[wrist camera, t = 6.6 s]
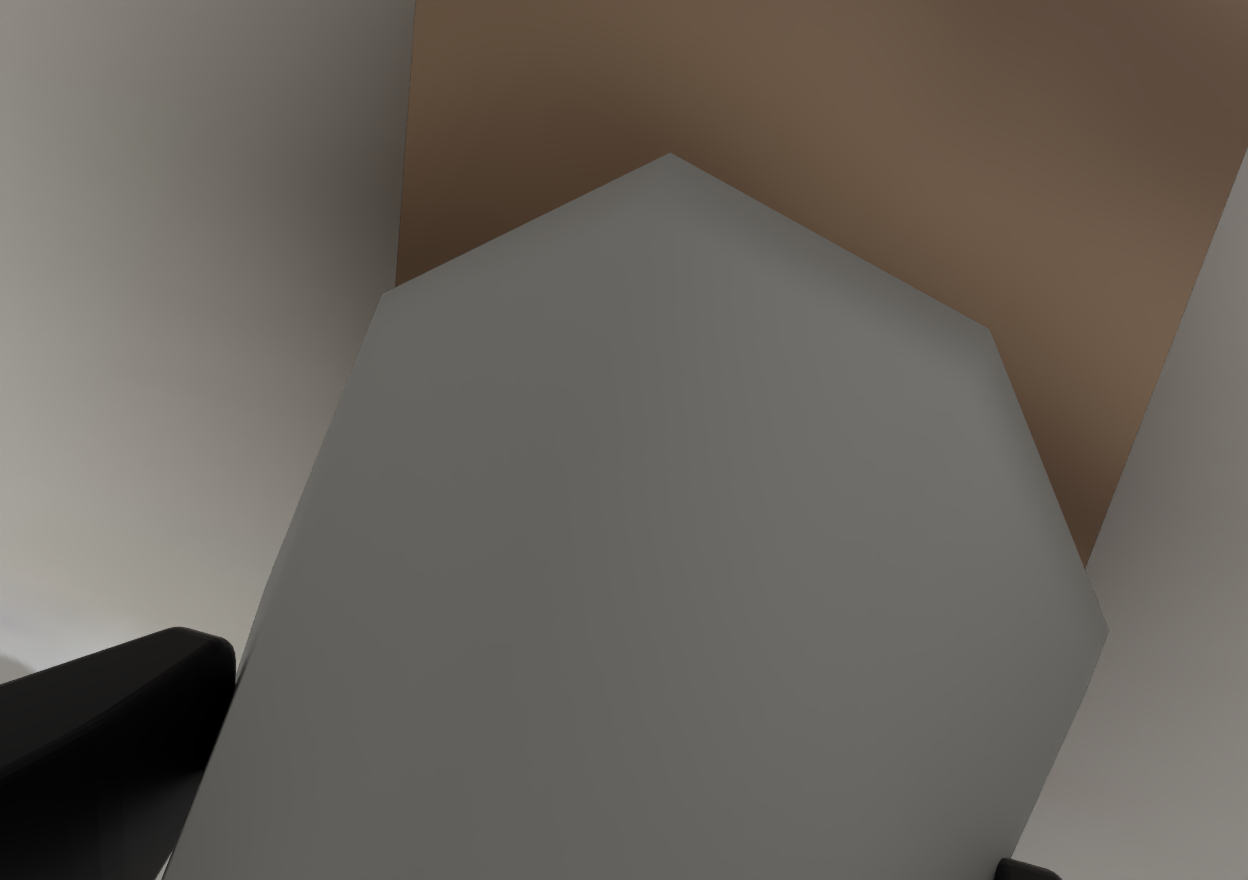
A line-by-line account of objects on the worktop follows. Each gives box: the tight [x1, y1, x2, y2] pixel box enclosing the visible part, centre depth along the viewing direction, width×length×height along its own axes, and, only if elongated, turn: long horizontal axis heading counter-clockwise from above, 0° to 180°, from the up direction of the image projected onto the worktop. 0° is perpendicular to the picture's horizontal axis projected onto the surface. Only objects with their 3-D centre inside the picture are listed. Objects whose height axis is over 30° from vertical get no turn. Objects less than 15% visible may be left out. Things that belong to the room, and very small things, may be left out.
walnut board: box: [395, 0, 1248, 569], centre depth 18 cm, size 18×12×1 cm, turn 171°
